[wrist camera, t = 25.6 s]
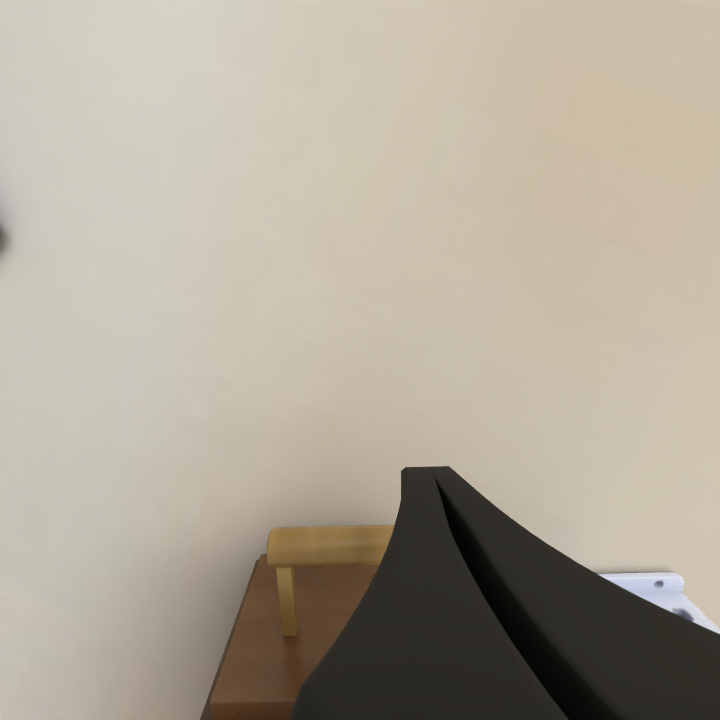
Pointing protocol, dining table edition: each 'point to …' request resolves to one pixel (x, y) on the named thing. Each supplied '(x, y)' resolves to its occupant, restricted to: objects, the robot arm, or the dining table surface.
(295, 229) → the dining table surface
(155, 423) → the dining table surface
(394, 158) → the dining table surface
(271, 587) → the drawer
